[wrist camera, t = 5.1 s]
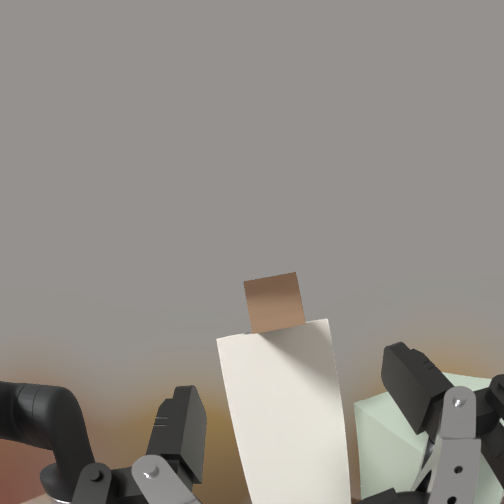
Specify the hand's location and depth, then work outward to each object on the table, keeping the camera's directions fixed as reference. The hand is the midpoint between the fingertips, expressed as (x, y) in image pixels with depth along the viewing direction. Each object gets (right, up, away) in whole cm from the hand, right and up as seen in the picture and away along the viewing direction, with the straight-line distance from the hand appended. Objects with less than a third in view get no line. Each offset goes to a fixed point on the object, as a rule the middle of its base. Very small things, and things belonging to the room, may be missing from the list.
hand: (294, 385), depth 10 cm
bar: (0, -2, +16) cm, 16 cm away
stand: (+7, -39, +9) cm, 41 cm away
